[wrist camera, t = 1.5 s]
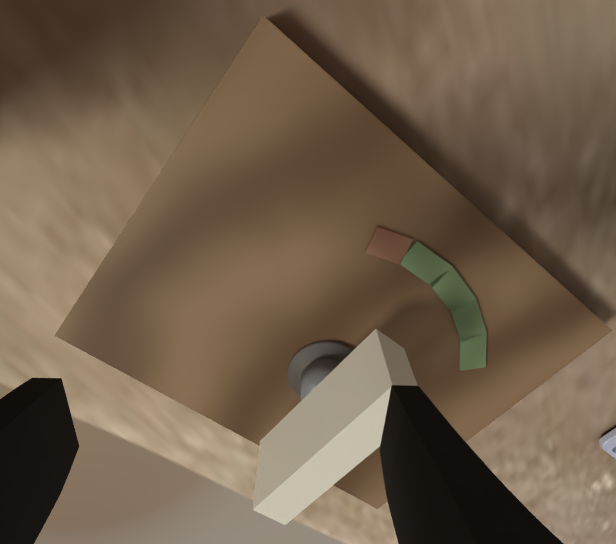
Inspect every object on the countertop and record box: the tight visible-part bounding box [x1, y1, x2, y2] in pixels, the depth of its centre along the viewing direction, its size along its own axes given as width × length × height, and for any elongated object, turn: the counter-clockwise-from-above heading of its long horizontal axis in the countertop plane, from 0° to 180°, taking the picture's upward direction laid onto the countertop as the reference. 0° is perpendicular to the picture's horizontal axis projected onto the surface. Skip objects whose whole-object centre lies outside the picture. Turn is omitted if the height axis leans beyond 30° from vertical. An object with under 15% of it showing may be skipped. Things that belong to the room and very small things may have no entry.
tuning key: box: [253, 329, 418, 525], centre depth 19 cm, size 9×8×5 cm
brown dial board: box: [55, 15, 612, 509], centre depth 20 cm, size 20×16×2 cm
